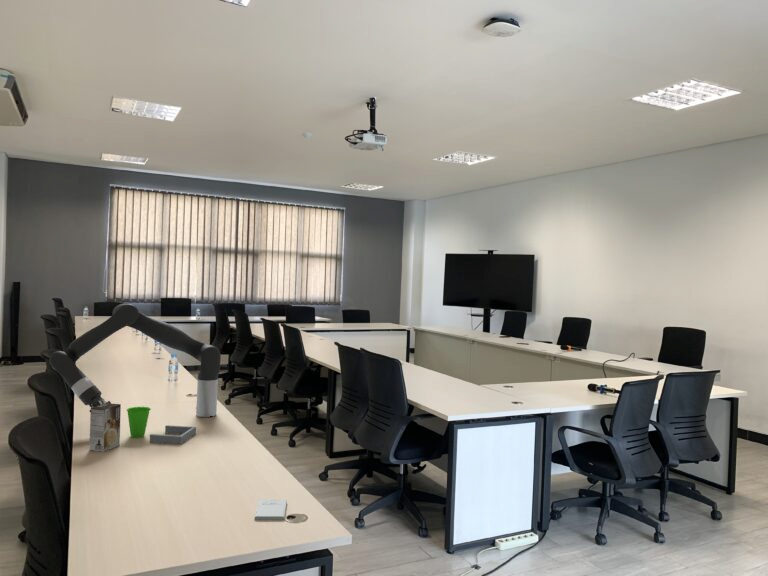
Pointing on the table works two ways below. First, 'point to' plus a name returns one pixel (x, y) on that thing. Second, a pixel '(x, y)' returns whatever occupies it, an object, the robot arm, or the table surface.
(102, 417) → the coffee box
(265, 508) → the external hard drive
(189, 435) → the grey cradle
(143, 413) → the cup
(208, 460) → the table surface
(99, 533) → the table surface
